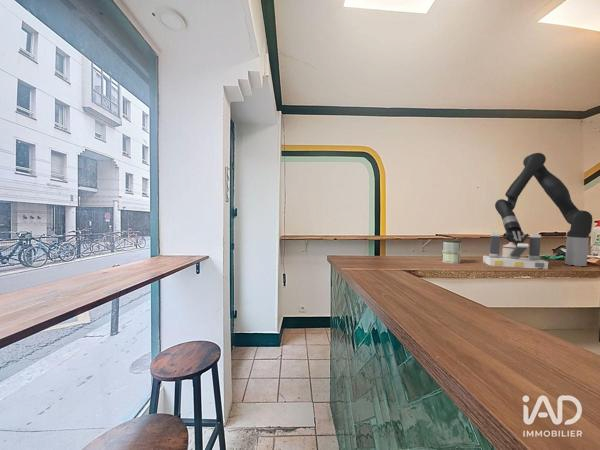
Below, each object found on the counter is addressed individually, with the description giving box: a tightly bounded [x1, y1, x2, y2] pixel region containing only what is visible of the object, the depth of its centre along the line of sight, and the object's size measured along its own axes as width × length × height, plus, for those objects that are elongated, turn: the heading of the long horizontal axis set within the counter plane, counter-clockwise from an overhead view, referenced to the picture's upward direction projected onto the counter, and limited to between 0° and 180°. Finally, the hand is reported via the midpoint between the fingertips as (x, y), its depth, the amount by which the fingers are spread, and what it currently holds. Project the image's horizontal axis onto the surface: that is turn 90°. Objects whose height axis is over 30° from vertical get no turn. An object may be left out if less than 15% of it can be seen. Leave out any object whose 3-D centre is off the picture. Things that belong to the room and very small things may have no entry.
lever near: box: [527, 233, 542, 260], centre depth 158 cm, size 5×2×15 cm, turn 73°
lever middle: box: [508, 243, 530, 259], centre depth 156 cm, size 5×2×15 cm
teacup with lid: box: [501, 241, 516, 257], centre depth 181 cm, size 12×9×12 cm
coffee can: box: [441, 238, 462, 264], centre depth 170 cm, size 10×10×14 cm
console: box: [482, 255, 549, 270], centre depth 161 cm, size 28×12×4 cm, turn 73°
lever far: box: [488, 232, 502, 258], centre depth 164 cm, size 5×2×15 cm, turn 73°
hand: (519, 247), depth 154 cm, fingers closed
